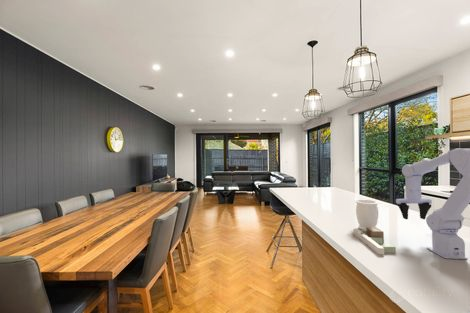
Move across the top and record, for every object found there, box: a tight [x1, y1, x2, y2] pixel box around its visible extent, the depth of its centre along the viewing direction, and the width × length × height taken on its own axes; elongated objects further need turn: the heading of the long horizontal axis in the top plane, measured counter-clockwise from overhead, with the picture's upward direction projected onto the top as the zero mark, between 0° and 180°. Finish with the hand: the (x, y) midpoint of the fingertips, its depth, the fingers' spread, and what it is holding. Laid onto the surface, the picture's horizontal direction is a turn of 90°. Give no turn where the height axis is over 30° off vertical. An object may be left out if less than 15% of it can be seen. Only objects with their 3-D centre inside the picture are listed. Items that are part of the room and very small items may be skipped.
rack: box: [352, 228, 397, 256], centre depth 100 cm, size 24×8×3 cm, turn 174°
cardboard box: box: [366, 226, 385, 243], centre depth 103 cm, size 6×4×5 cm
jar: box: [355, 199, 379, 230], centre depth 119 cm, size 11×10×15 cm
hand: (414, 218), depth 102 cm, fingers open, 7 cm apart
